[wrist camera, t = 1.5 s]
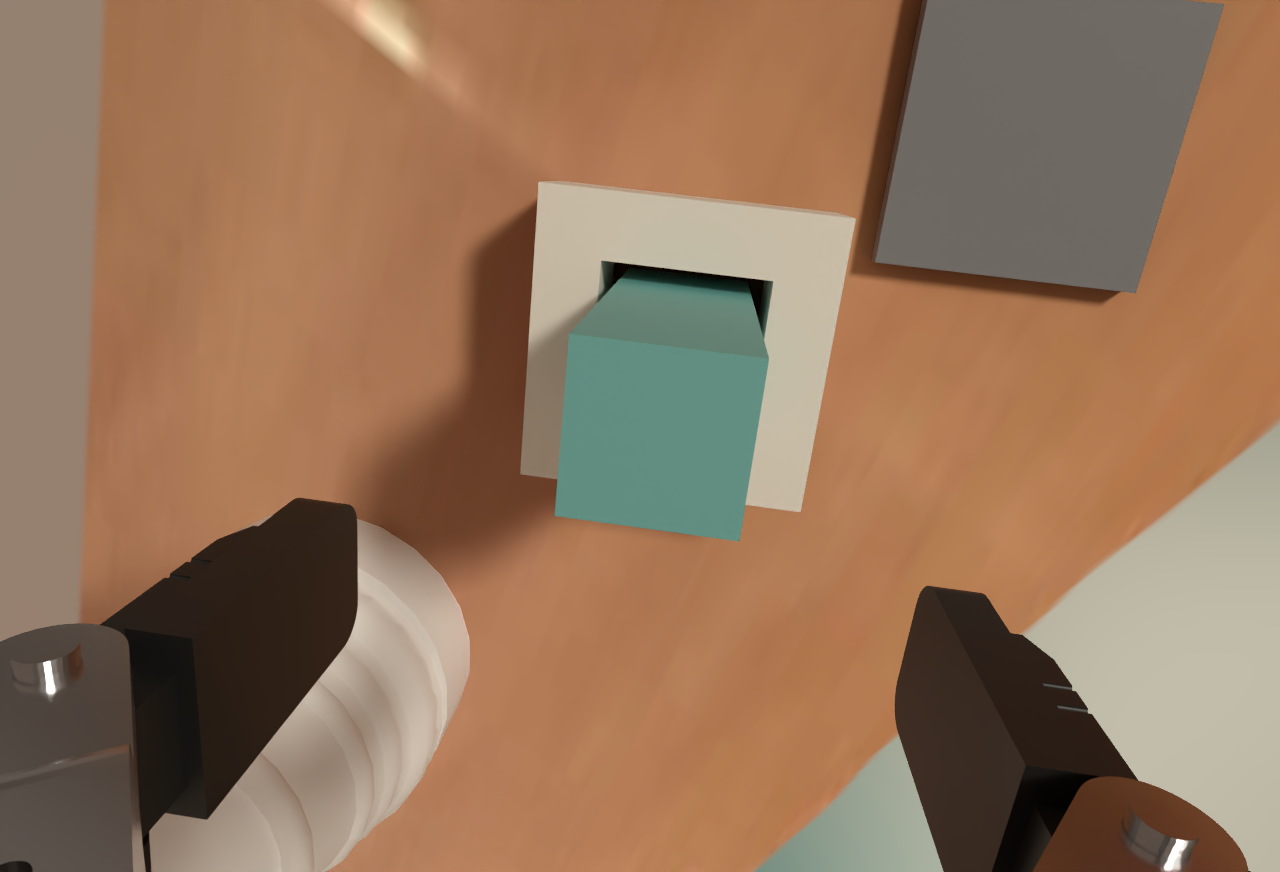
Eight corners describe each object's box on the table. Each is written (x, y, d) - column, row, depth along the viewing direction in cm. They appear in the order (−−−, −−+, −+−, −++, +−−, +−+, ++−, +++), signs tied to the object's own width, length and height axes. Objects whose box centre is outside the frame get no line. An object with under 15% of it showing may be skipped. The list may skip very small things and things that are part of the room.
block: (630, 267, 30) (569, 333, 17) (747, 281, 30) (769, 358, 17) (618, 380, 31) (554, 515, 19) (730, 395, 31) (739, 541, 19)
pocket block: (561, 180, 29) (538, 181, 25) (837, 212, 28) (855, 218, 25) (543, 438, 32) (520, 474, 28) (790, 471, 32) (800, 512, 28)
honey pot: (140, 594, 36) (-364, 964, 19) (349, 457, 33) (-34, 753, 16) (318, 794, 39) (13, 1271, 22) (526, 685, 36) (357, 1142, 19)
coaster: (926, -20, 26) (932, -25, 25) (1209, 9, 26) (1224, 4, 25) (870, 260, 29) (875, 262, 28) (1124, 289, 28) (1135, 293, 28)
